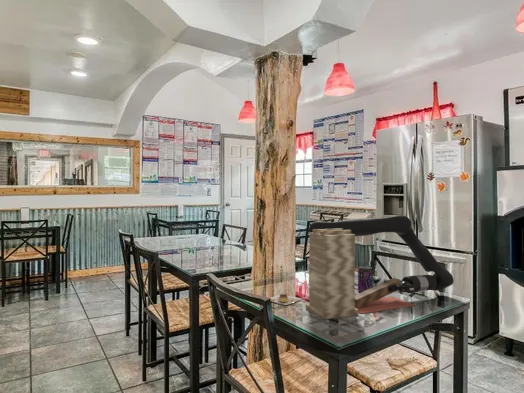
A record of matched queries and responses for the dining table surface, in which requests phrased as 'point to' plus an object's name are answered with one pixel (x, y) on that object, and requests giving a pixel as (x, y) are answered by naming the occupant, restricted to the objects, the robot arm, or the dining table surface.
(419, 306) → the dining table surface
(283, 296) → the dessert
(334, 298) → the pedestal
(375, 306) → the mat
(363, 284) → the beverage can
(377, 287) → the block
